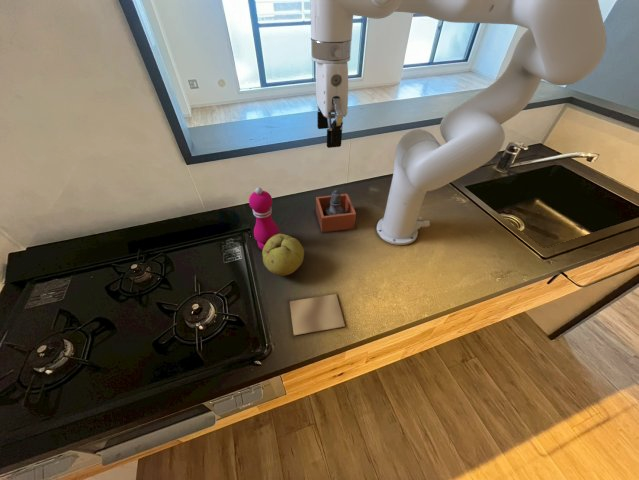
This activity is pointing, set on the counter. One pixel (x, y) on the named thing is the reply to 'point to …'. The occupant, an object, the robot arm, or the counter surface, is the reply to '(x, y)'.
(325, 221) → the holder
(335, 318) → the board
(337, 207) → the grey stone figurine
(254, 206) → the pepper mill
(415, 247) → the counter surface
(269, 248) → the fruit
